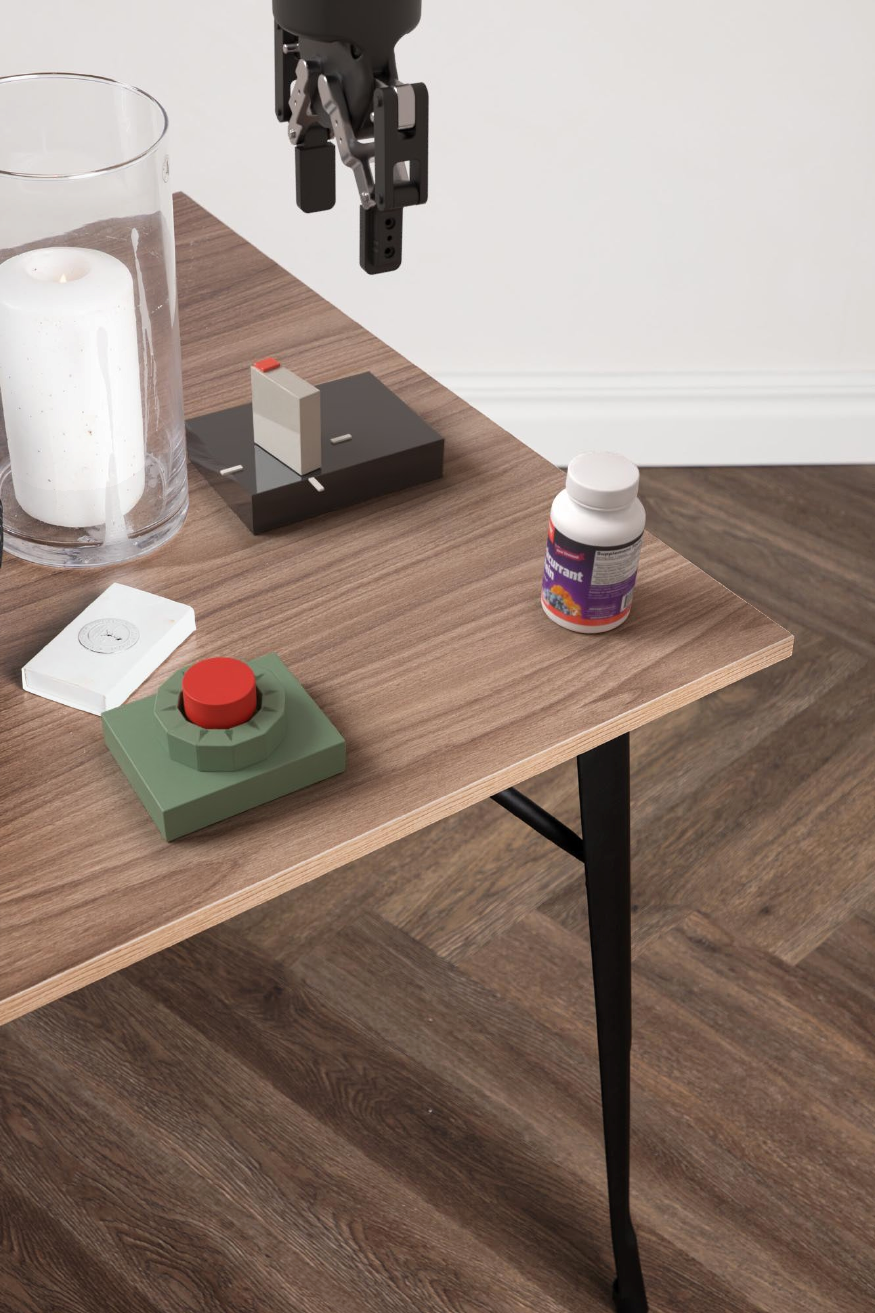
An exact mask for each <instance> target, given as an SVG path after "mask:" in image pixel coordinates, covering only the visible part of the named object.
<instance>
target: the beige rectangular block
mask: <svg viewBox="0 0 875 1313" xmlns="http://www.w3.org/2000/svg"><path fill="white" fill-rule="evenodd" d="M250 384H251V385H250V386H251V400H252V401H251V402H252V407H253V426H254V442H255V443H256V444H258V445H259V446H261V447H262V448H263V449H265V450H266V451H268V452H269V453H270V454H272V455H273V456H275V457H276V458H278V459H279V460H280V461H282V462H283V463H285V464H286V465H287V466H289V467H290V468H292V469H293V470H294V471H296V472H297V473H299V474H300V475H304V474H306V473H309V472H311V471H313V470H316V469H318V468H320V467H321V413H320V390H318V389H317V388H315V387H314V386H315V385H312V384H311V383H309V382H308V381H306V380H304V379H303V378H301V377H300V376H298V375H297V374H296V373H294V372H292V371H291V370H289V369H288V368H286V367H285V366H283V365H282V364H281V362H280V361H278V360H276V359H275V358H273V357H272V356H270V357H267V358H264V359H262V360H259V361H256V362H254V363H253V365H250Z"/></svg>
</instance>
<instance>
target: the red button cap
mask: <svg viewBox="0 0 875 1313" xmlns="http://www.w3.org/2000/svg"><path fill="white" fill-rule="evenodd" d="M236 659H237V658H232V657H226V656H216V657H210V658H206V659H203V660H200V661H197V662H195V663H196V664H195V663H193V664H194V665H193V666H192V667H190V668H189V669H188V670H187V672H186V673H185V675H184V677H183V680H182V688H183V698H184V707H185V713H186V715H187V717H188V718H189V719H190V721H192V722H193V723H194V724H196V725H197V726H199V727H202V728H205V729H230V728H233V727H236V726H239V725H241V724H244V723H245V722H247V721H248V720H249V719H250V718H251V717H252V716H253V714H254V713H255V710H256V706H257V700H256V682H255V675H254V673H253V671H252V669H251V668H250V667H249V666H248V665H247V664H245V663H243V662H241V661H239V660H236Z"/></svg>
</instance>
